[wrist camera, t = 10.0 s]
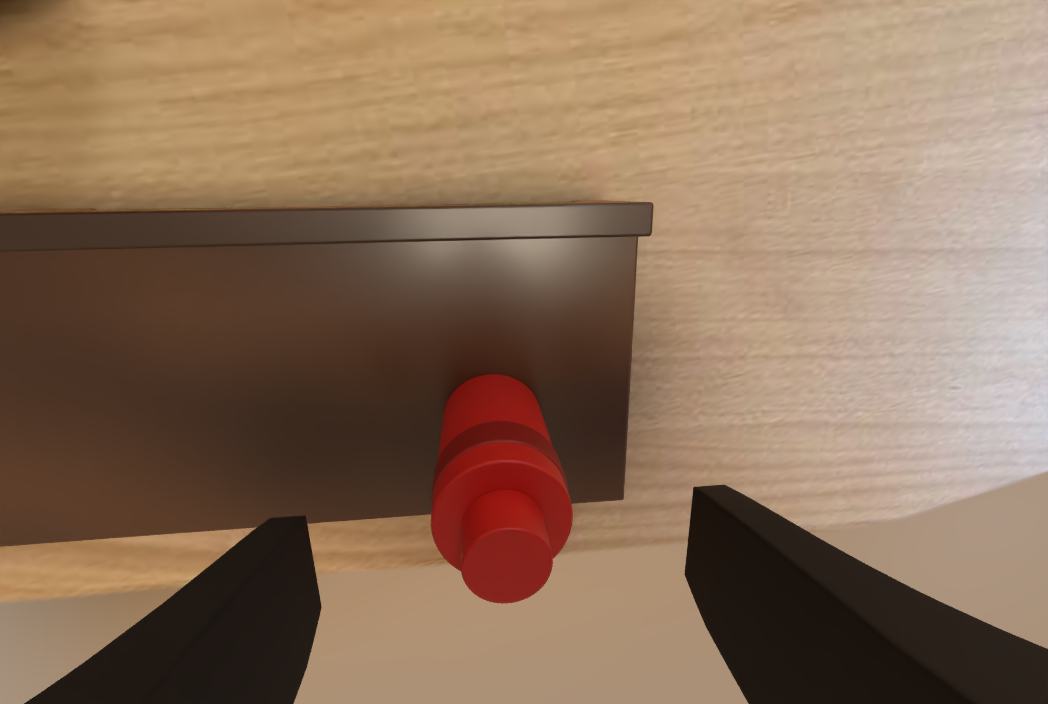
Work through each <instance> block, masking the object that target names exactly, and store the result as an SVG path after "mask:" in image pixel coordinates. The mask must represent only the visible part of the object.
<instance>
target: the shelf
mask: <svg viewBox="0 0 1048 704" xmlns="http://www.w3.org/2000/svg"><path fill="white" fill-rule="evenodd" d="M652 220H653V203H651V202H629V201H604V200H603V201H572V202H562V203H501V204H440V205H379V206H318V207H257V208H197V209H136V210H96V209H51V210H22V211H0V546H14V545H27V544H40V543H54V542H67V541H81V540H94V539H107V538H121V537H134V536H147V535H161V534H174V533H187V532H201V531H214V530H227V529H241V528H254V527H258V526H260V525H261V524H262V523H264V522H265V521H267V520H268V519H269V518H275V517H289V516H302V515H306V520H307V523H321V522H334V521H347V520H361V519H374V518H387V517H401V516H414V515H427V514H432V507H431V494H432V486H433V478H434V472H435V467H436V464H437V461H438V456H439V448H440V439H441V431H442V422H443V415H444V410H445V406H446V404H447V402H448V400H449V398H450V396H451V395H452V394H453V392H454V391H455V390H456V389H457V388H458V387H459V386H461V385H462V384H463V383H465V382H466V381H468V380H470V379H472V378H475V377H478V376H482V375H487V374H500V375H506V376H509V377H512V378H514V379H517V380H518V381H520V382H522V383H523V384H524V385H526V386H527V387H528V388H529V389H530V390H531V391H532V393H533V394H534V395H535V397H536V399H537V401H538V404H539V406H540V410H541V413H542V416H543V419H544V422H545V425H546V428H547V431H548V434H549V437H550V440H551V443H552V446H553V447H554V449H555V451H556V453H557V455H558V457H559V460H560V463H561V466H562V469H563V472H564V475H565V478H566V481H567V486H568V494H569V497H570V500H571V504H574V503H588V502H601V501H614V500H623V499H624V485H625V467H626V449H627V430H628V412H629V394H630V375H631V357H632V339H633V320H634V302H635V284H636V265H637V247H638V236H650V235H651V233H652Z"/></svg>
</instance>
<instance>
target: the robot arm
mask: <svg viewBox="0 0 1048 704" xmlns="http://www.w3.org/2000/svg"><path fill="white" fill-rule="evenodd" d="M685 577H686V579H687V582H688V584H689V587H690V589H691V592H692V594H693V597H694V599H695V602H696V604H697V607H698V609H699V611H700V614H701V616H702V618H703V621H704V623H705V625H706V628H707V629H708V631H709V633H710V635H711V637H712V639H713V641H714V642H715V644H716V646H717V648H718V649H719V651H720V653H721V655H722V657H723V659H724V661H725V662H726V664H727V666H728V668H729V670H730V671H731V673H732V675H733V677H734V678H735V680H736V682H737V684H738V685H739V687H740V689H741V691H742V693H743V695H744V696H745V698H746V700H747V702H748V703H749V704H1048V649H1046V648H1044V647H1041V646H1039V645H1036V644H1034V643H1032V642H1029V641H1027V640H1025V639H1022V638H1020V637H1017V636H1015V635H1013V634H1010V633H1008V632H1006V631H1003V630H1001V629H999V628H996V627H994V626H992V625H990V624H988V623H985V622H983V621H981V620H979V619H977V618H975V617H972V616H970V615H968V614H966V613H963V612H961V611H959V610H957V609H955V608H953V607H950V606H948V605H946V604H944V603H942V602H939V601H937V600H935V599H933V598H931V597H929V596H927V595H925V594H923V593H921V592H919V591H916V590H915V589H913V588H910V587H909V586H907V585H905V584H903V583H901V582H899V581H897V580H895V579H893V578H892V577H889V576H888V575H886V574H884V573H882V572H880V571H878V570H876V569H874V568H872V567H870V566H868V565H866V564H865V563H862V562H861V561H859V560H857V559H855V558H854V557H852V556H850V555H848V554H846V553H845V552H843V551H841V550H839V549H837V548H836V547H834V546H832V545H830V544H828V543H827V542H825V541H823V540H821V539H820V538H818V537H816V536H814V535H813V534H811V533H809V532H807V531H806V530H804V529H802V528H801V527H799V526H797V525H795V524H794V523H792V522H790V521H788V520H787V519H785V518H783V517H782V516H780V515H778V514H776V513H775V512H773V511H771V510H770V509H768V508H766V507H764V506H763V505H761V504H759V503H757V502H756V501H754V500H752V499H750V498H749V497H747V496H745V495H743V494H741V493H740V492H738V491H736V490H734V489H732V488H730V487H728V486H726V485H714V486H700V487H694V488H693V498H692V508H691V517H690V527H689V537H688V548H687V557H686V567H685ZM320 611H321V601H320V595H319V590H318V584H317V578H316V572H315V567H314V561H313V555H312V549H311V543H310V538H309V532H308V526H307V520H306V515H302V516H289V517H275V518H269V519H268V520H267V521H265V522H264V523H262V524H261V525H260V526H258V527H257V528H256V529H255V530H253V531H252V532H251V533H250V534H248V535H247V536H246V537H245V538H243V539H242V540H241V541H240V542H238V543H237V544H236V545H235V546H233V547H232V548H231V549H230V550H229V551H227V552H226V553H225V554H224V555H222V556H221V557H220V558H219V559H217V560H216V561H215V562H214V563H213V564H211V565H210V566H209V567H208V568H206V569H205V570H204V571H203V572H201V573H200V574H199V575H198V576H196V577H195V578H194V579H193V580H191V581H190V582H189V583H188V584H186V585H185V586H184V587H183V588H181V589H180V590H179V591H178V592H176V593H175V594H174V595H173V596H172V597H171V598H169V599H168V600H167V601H165V602H164V603H163V604H162V605H160V606H159V607H157V608H156V609H155V610H153V611H152V612H151V613H149V614H148V615H147V616H146V617H144V618H143V619H141V620H140V621H139V622H137V623H136V624H135V625H133V626H132V627H131V628H129V629H128V630H127V631H125V633H123V634H122V635H120V636H119V637H118V638H116V639H115V640H113V641H112V642H111V643H110V644H108V645H107V646H105V647H104V648H103V649H102V650H100V651H99V652H98V653H96V654H95V655H93V656H92V657H91V658H89V659H88V660H87V661H85V662H84V663H83V664H81V665H80V666H78V667H77V668H75V669H74V670H73V671H71V672H70V673H69V674H67V675H66V676H64V677H63V678H61V679H60V680H58V681H57V682H55V683H54V684H53V685H51V686H50V687H48V688H47V689H45V690H44V691H42V692H41V693H39V694H38V695H37V696H35V697H33V698H32V699H30V700H29V701H27V702H26V703H24V704H293V703H294V700H295V698H296V695H297V693H298V690H299V687H300V684H301V681H302V679H303V676H304V673H305V670H306V668H307V664H308V660H309V656H310V652H311V648H312V645H313V641H314V637H315V633H316V628H317V624H318V620H319V616H320Z"/></svg>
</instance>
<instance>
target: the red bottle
mask: <svg viewBox="0 0 1048 704" xmlns="http://www.w3.org/2000/svg"><path fill="white" fill-rule="evenodd" d="M431 507H432V514H431V530H432V535H433V539H434V542H435V544H436V546H437V548H438V550H439V551H440V553H441V554H442V556H443V557H444V558H445V559H446V560H447V561H448V562H449V563H450V564H451V565H452V566H454V567H455V568H456V569H458V570H460V571H461V572H462V577H463V580H464V581H465V584H466V585H467V586H468V588H469V589H470V590H471V591H472V592H473V593H474V594H476V595H477V596H478V597H480V598H482V599H484V600H487V601H490V602H494V603H513V602H517V601H521V600H524V599H526V598H528V597H530V596H531V595H533V594H535V593H536V592H537V591H539V589H541V588H542V587H543V585H544V584H545V583H546V581H547V580H548V578H549V576H550V573H551V570H552V564H553V558H554V557H555V556H556V555H557V554H558V553H559V552H560V550H561V549H562V548H563V546H564V544H565V543H566V541H567V538H568V536H569V534H570V530H571V526H572V519H573V511H572V505H571V500H570V497H569V494H568V486H567V481H566V478H565V475H564V472H563V469H562V466H561V463H560V460H559V457H558V455H557V453H556V451H555V449H554V447H553V446H552V443H551V440H550V437H549V434H548V431H547V428H546V425H545V422H544V419H543V416H542V413H541V410H540V406H539V404H538V401H537V399H536V397H535V395H534V394H533V393H532V391H531V390H530V389H529V388H528V387H527V386H526V385H524V384H523V383H522V382H520V381H518V380H517V379H514V378H512V377H509V376H506V375H500V374H487V375H482V376H478V377H475V378H472V379H470V380H468V381H466V382H465V383H463V384H462V385H461V386H459V387H458V388H457V389H456V390H455V391H454V392H453V394H452V395H451V396H450V398H449V400H448V402H447V404H446V406H445V410H444V415H443V422H442V431H441V439H440V448H439V456H438V461H437V464H436V467H435V472H434V478H433V486H432V494H431Z"/></svg>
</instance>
